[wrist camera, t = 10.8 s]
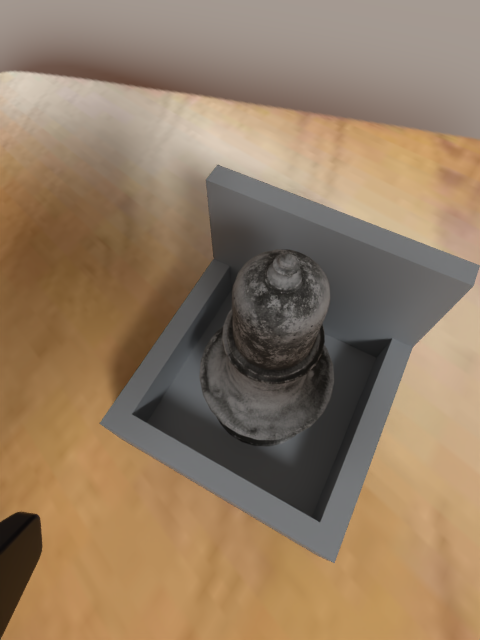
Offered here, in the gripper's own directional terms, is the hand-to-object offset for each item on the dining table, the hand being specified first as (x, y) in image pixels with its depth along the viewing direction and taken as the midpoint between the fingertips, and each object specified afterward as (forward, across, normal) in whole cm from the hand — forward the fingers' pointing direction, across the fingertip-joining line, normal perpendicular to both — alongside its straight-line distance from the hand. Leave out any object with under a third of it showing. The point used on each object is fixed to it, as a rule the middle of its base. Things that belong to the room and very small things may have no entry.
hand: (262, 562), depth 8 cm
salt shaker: (+13, 0, +3) cm, 13 cm away
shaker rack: (+13, 0, +4) cm, 14 cm away
